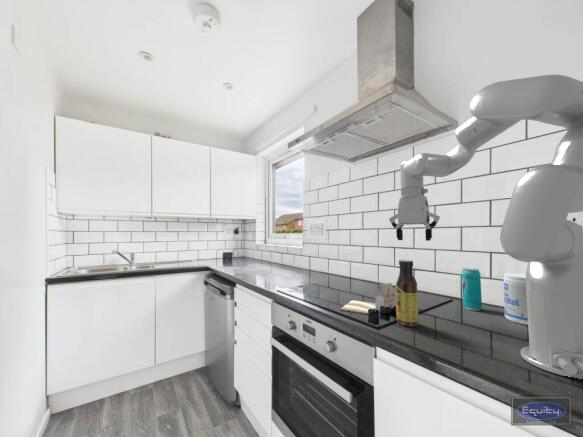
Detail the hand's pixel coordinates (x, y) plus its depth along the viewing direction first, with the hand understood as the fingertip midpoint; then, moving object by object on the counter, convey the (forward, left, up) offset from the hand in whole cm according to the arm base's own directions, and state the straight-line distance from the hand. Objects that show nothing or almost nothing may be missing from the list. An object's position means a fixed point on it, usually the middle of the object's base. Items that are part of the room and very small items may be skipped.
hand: (413, 240), depth 92 cm
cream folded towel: (-4, +19, -26) cm, 32 cm away
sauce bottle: (-14, +1, -26) cm, 30 cm away
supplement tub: (+8, -31, -26) cm, 41 cm away
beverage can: (+16, -18, -26) cm, 35 cm away
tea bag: (-4, +10, -26) cm, 28 cm away
